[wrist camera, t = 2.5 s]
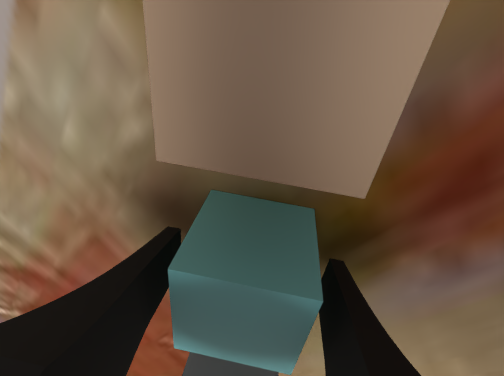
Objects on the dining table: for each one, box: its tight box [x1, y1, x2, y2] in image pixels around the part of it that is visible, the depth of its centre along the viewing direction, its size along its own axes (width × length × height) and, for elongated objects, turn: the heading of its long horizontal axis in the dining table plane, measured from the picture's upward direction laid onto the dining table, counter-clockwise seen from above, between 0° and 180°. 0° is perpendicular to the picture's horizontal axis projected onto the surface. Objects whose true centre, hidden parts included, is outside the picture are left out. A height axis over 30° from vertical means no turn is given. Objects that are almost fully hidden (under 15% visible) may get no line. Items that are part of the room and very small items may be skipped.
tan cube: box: [143, 0, 450, 199], centre depth 7 cm, size 5×5×5 cm
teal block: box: [168, 190, 323, 375], centre depth 12 cm, size 5×5×5 cm
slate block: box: [182, 352, 278, 376], centre depth 16 cm, size 5×5×5 cm
